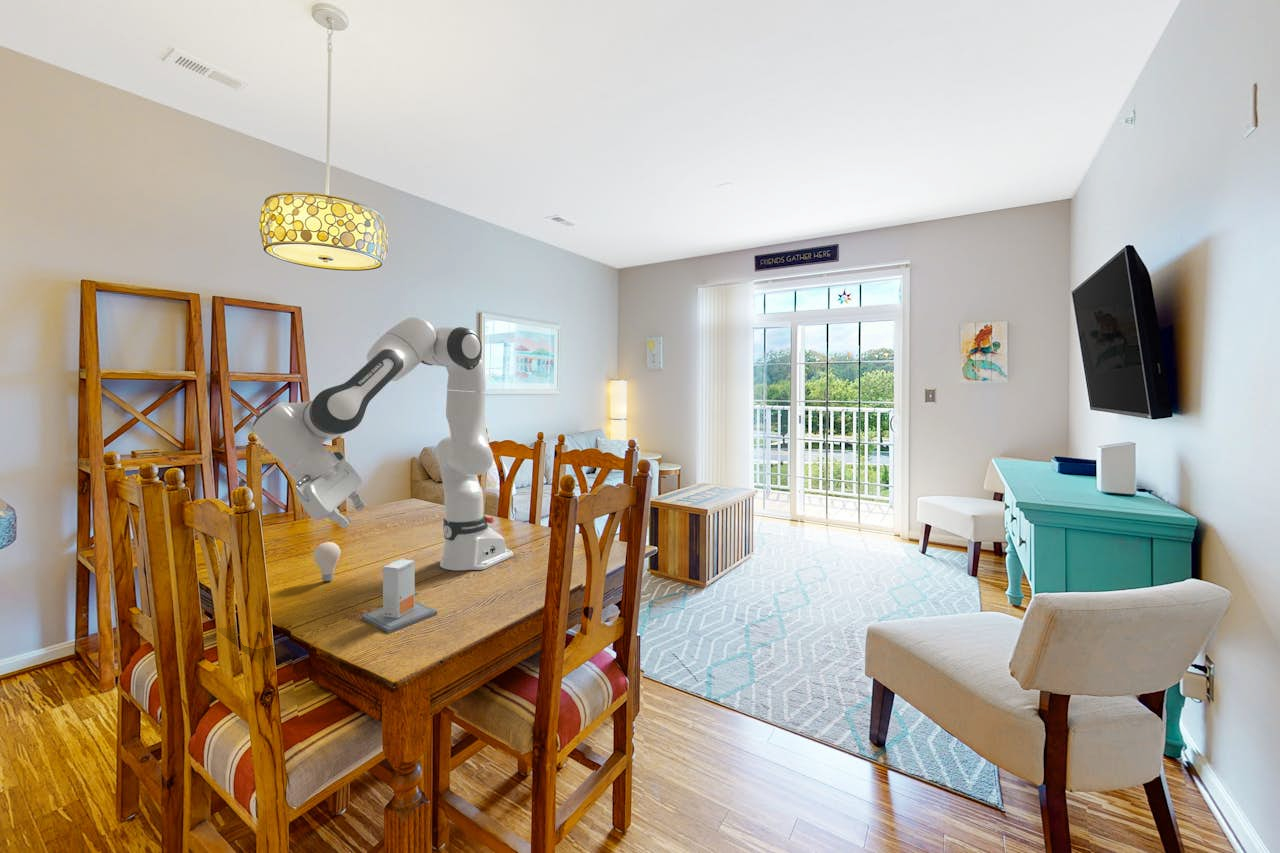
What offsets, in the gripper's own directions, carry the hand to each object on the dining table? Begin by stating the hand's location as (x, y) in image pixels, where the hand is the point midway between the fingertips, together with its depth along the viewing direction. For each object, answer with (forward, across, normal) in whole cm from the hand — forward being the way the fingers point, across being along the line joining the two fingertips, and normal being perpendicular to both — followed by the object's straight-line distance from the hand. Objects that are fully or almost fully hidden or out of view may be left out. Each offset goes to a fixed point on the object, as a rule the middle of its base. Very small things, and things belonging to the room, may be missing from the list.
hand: (355, 516), depth 121 cm
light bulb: (+14, +20, +29) cm, 38 cm away
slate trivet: (+25, -5, +5) cm, 26 cm away
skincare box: (+24, -5, +4) cm, 25 cm away
